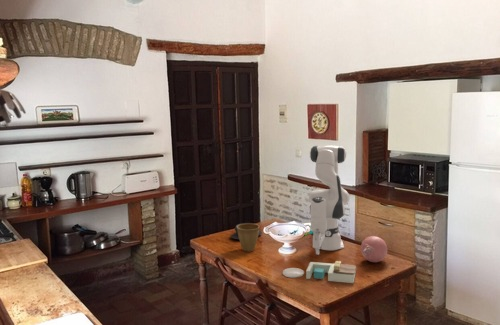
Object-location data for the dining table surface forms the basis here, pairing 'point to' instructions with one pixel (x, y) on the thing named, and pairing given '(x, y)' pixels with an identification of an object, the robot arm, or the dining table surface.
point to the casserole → (237, 232)
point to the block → (319, 273)
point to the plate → (293, 272)
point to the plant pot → (248, 236)
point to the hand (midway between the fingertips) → (319, 251)
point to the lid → (343, 268)
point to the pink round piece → (374, 249)
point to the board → (330, 272)
